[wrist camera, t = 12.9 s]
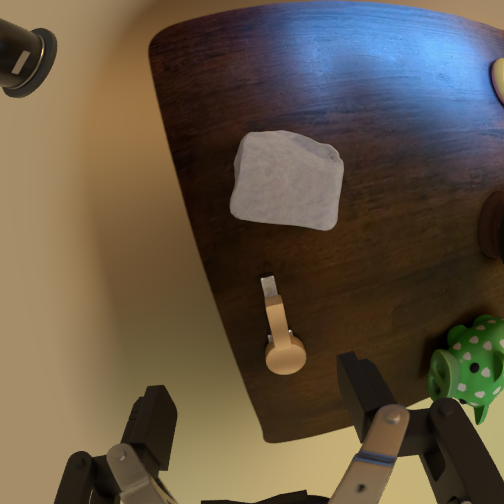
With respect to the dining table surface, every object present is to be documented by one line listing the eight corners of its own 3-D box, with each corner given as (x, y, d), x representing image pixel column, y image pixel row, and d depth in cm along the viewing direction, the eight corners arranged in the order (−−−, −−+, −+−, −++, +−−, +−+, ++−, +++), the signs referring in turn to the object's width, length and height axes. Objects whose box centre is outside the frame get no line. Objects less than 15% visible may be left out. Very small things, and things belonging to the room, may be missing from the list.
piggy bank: (425, 322, 39) (477, 380, 24) (499, 292, 38) (552, 331, 24) (415, 385, 43) (450, 443, 29) (485, 353, 42) (524, 396, 28)
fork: (253, 276, 36) (253, 280, 34) (279, 270, 35) (280, 274, 34) (275, 366, 40) (276, 371, 39) (297, 361, 40) (298, 366, 39)
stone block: (237, 134, 32) (227, 220, 33) (238, 121, 27) (227, 220, 28) (335, 149, 33) (328, 230, 34) (350, 139, 28) (343, 232, 29)
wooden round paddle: (251, 300, 35) (251, 310, 33) (293, 291, 35) (296, 300, 33) (269, 368, 39) (270, 379, 36) (306, 360, 38) (309, 371, 36)
